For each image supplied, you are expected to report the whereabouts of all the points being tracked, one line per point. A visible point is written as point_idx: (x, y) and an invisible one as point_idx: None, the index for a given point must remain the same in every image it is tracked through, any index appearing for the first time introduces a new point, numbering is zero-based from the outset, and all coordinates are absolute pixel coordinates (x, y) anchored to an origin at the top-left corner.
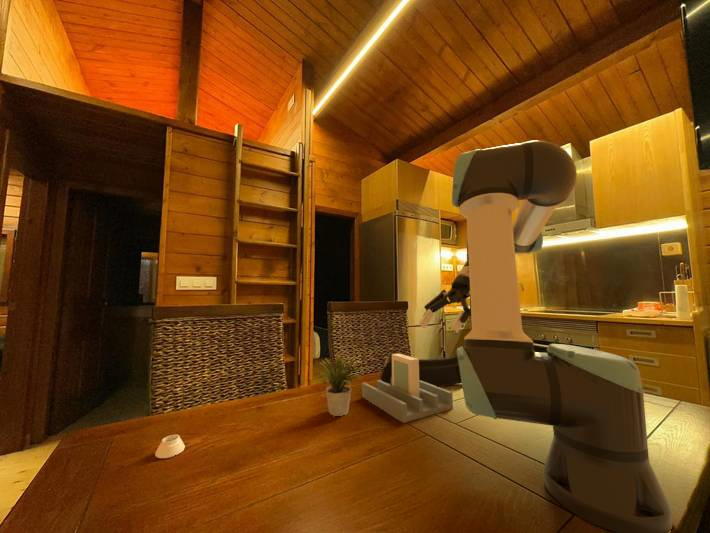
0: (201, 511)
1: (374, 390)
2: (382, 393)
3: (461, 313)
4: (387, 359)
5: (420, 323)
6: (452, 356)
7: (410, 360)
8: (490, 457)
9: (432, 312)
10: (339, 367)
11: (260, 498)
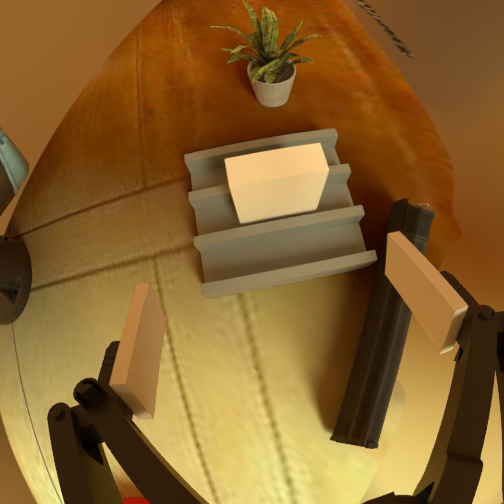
0: (148, 21)
1: (284, 136)
2: (254, 140)
3: (116, 364)
4: (422, 204)
5: (390, 236)
6: (378, 434)
7: (226, 159)
8: (70, 235)
9: (445, 338)
10: (292, 47)
11: (139, 41)
